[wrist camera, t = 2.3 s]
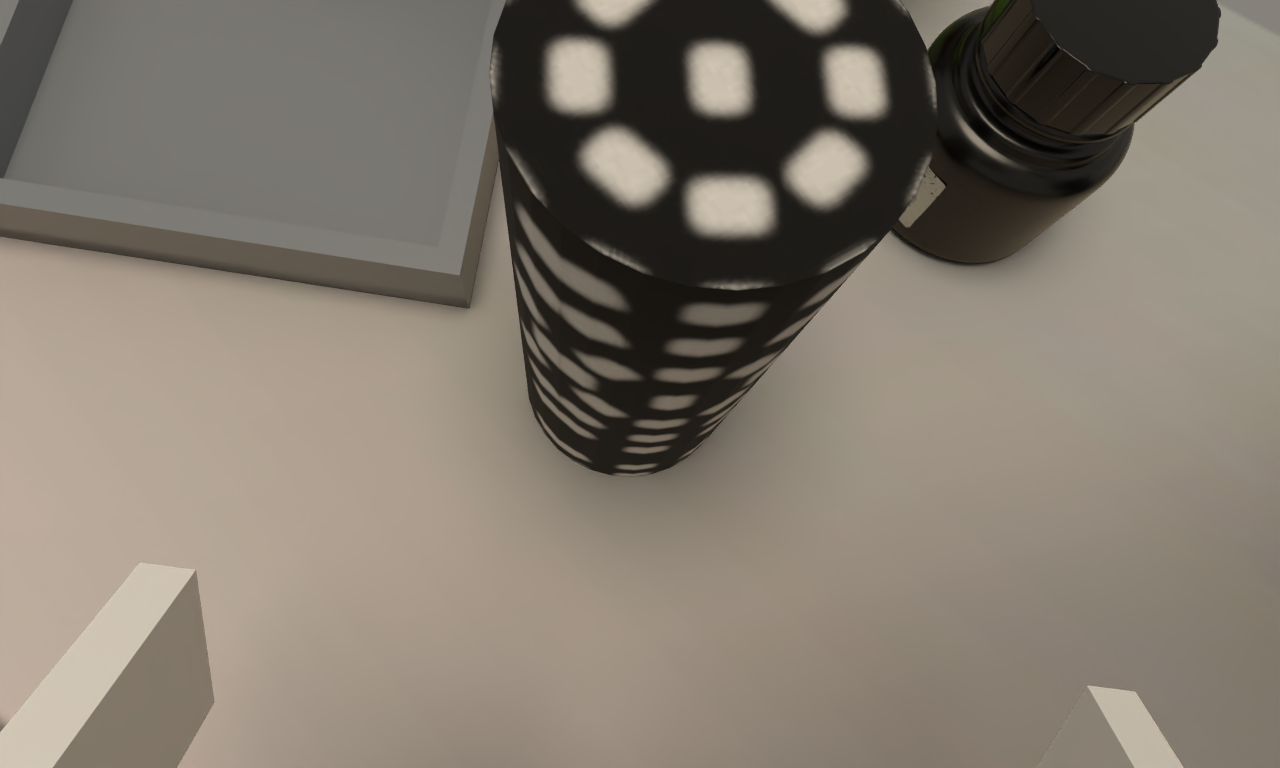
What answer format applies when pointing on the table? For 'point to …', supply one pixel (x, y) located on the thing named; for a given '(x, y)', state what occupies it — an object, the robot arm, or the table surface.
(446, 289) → the tray
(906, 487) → the table surface
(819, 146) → the white-spotted black cylinder
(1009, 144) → the ink bottle
